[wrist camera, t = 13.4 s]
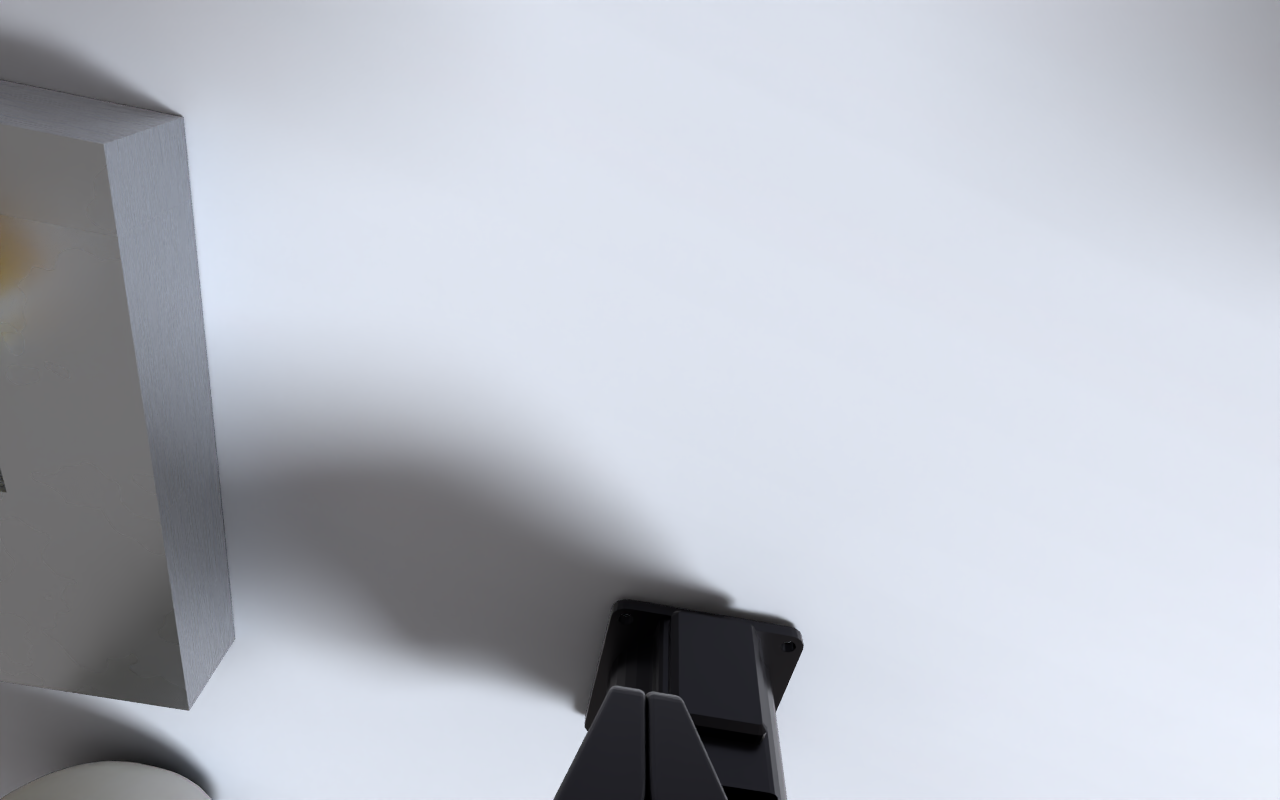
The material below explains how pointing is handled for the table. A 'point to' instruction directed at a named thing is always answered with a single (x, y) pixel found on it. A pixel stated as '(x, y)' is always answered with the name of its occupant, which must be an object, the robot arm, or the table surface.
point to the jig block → (104, 408)
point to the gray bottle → (110, 784)
